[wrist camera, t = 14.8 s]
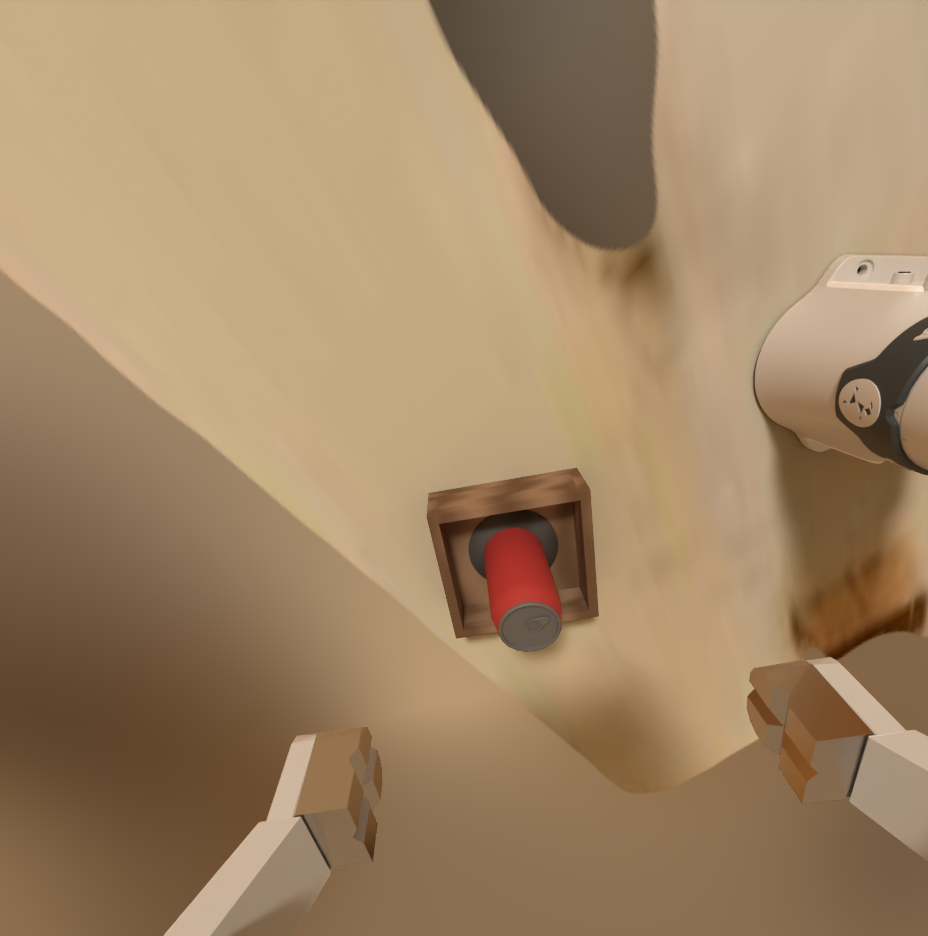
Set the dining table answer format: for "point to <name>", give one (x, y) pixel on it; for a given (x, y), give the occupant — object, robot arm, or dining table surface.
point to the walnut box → (514, 506)
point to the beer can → (521, 590)
